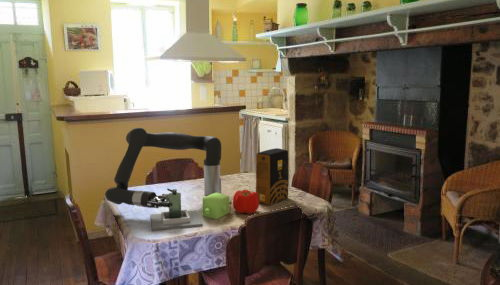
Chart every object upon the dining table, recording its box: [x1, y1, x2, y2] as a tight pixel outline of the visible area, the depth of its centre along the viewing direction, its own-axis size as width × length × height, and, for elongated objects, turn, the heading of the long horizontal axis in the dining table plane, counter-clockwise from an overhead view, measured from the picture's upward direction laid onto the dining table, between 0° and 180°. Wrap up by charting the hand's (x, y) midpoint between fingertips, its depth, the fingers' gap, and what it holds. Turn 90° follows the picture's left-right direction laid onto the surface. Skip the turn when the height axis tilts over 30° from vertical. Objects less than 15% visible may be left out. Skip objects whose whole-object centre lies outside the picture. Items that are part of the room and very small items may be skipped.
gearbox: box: [202, 192, 233, 220], centre depth 196 cm, size 18×10×10 cm, turn 147°
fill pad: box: [149, 209, 203, 232], centre depth 189 cm, size 22×20×3 cm
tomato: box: [232, 189, 260, 215], centre depth 200 cm, size 14×13×10 cm
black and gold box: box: [255, 147, 289, 206], centre depth 218 cm, size 11×19×28 cm, turn 142°
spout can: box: [166, 188, 182, 219], centre depth 188 cm, size 6×6×15 cm
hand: (174, 202), depth 187 cm, fingers open, 8 cm apart
